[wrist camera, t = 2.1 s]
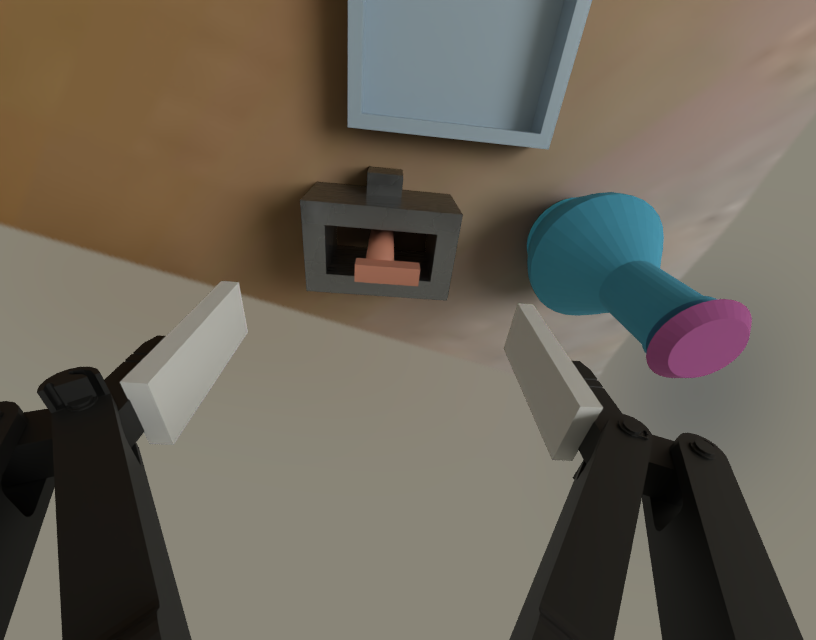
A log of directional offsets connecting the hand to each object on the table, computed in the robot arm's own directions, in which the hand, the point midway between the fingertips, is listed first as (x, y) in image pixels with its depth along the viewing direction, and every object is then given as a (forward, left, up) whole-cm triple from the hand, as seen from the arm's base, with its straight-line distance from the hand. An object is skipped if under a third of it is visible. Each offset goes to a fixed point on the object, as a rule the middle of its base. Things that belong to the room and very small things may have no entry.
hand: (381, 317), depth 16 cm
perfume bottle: (+15, +1, -13) cm, 20 cm away
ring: (0, 0, -13) cm, 13 cm away
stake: (0, 0, -13) cm, 13 cm away
